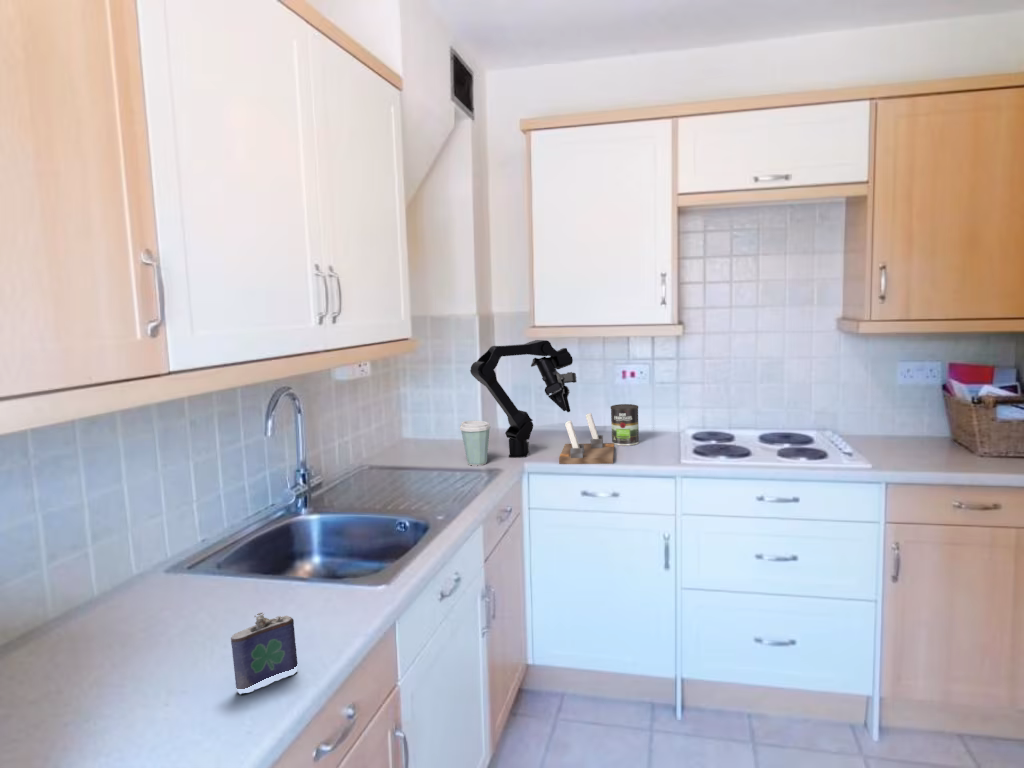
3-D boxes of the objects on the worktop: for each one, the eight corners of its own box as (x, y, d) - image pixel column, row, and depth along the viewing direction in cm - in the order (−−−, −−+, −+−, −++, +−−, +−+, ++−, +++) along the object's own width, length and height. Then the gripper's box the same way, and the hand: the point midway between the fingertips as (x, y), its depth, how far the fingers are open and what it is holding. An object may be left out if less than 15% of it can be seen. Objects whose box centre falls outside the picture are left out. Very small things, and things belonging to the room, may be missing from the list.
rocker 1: (574, 456, 221) (564, 424, 220) (575, 454, 225) (565, 422, 224) (581, 455, 221) (571, 422, 220) (582, 452, 225) (572, 420, 224)
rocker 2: (594, 447, 234) (584, 416, 233) (595, 444, 238) (585, 414, 237) (601, 445, 233) (591, 414, 233) (601, 443, 237) (591, 412, 236)
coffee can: (637, 446, 240) (636, 408, 239) (609, 445, 244) (608, 408, 242) (641, 440, 250) (640, 403, 248) (614, 439, 253) (613, 403, 252)
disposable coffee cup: (488, 458, 233) (485, 417, 231) (496, 465, 223) (494, 422, 221) (459, 462, 230) (456, 420, 228) (466, 469, 220) (463, 425, 218)
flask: (239, 698, 95) (231, 628, 94) (233, 689, 98) (225, 621, 96) (301, 673, 101) (294, 607, 100) (294, 666, 103) (287, 601, 102)
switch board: (559, 464, 221) (558, 449, 220) (565, 449, 242) (564, 435, 241) (613, 463, 217) (612, 448, 217) (614, 448, 239) (613, 435, 238)
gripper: (564, 359, 227) (584, 399, 225) (572, 365, 246) (590, 403, 243) (536, 374, 229) (555, 414, 227) (546, 378, 247) (563, 416, 245)
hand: (567, 411), depth 235 cm, fingers open, 9 cm apart
